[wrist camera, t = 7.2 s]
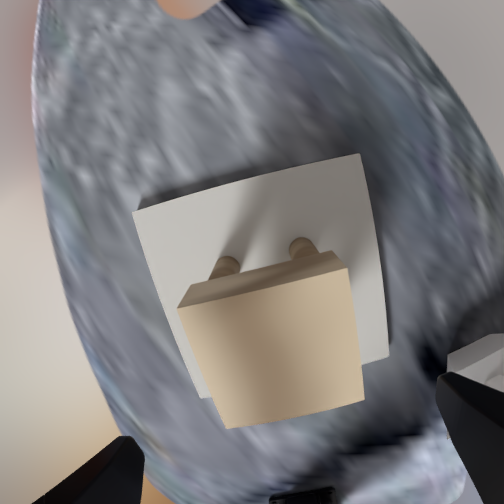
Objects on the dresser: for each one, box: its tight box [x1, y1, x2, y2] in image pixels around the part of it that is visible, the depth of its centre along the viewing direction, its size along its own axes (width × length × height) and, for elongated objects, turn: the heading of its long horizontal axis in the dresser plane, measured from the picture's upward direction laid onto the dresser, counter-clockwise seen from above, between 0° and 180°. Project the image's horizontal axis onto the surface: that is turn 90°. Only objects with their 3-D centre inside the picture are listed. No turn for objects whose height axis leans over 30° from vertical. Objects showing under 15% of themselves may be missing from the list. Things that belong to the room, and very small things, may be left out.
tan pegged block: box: [177, 237, 365, 429], centre depth 15 cm, size 6×6×7 cm
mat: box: [132, 153, 389, 398], centre depth 19 cm, size 13×13×1 cm
